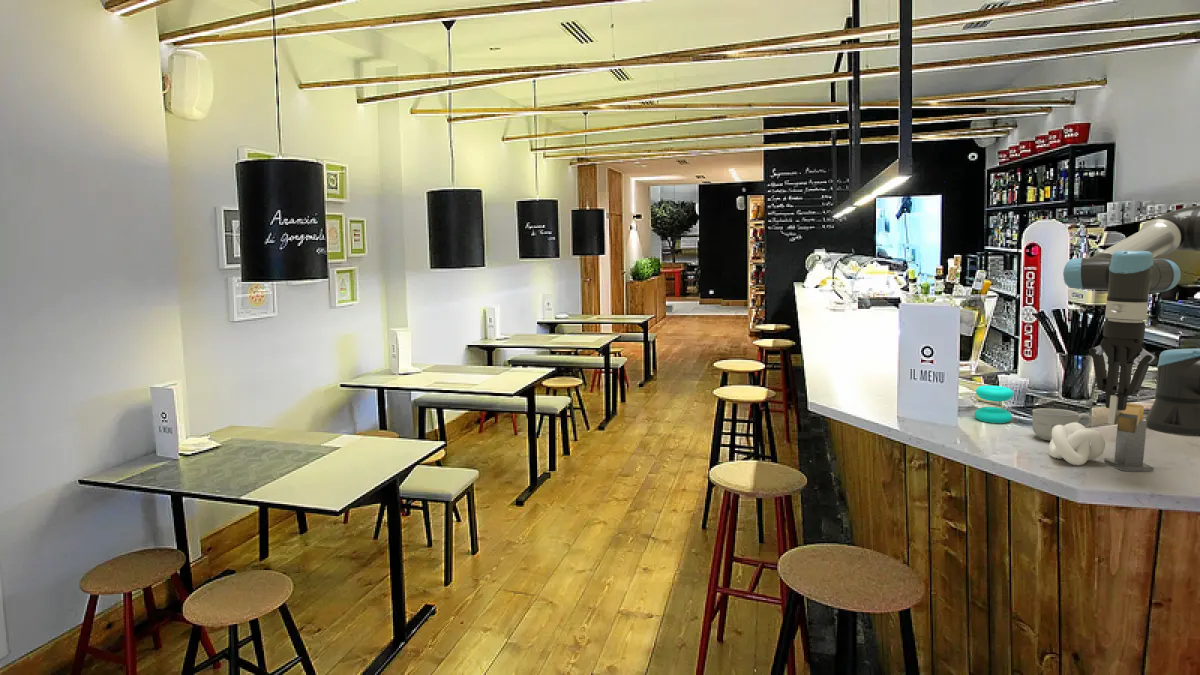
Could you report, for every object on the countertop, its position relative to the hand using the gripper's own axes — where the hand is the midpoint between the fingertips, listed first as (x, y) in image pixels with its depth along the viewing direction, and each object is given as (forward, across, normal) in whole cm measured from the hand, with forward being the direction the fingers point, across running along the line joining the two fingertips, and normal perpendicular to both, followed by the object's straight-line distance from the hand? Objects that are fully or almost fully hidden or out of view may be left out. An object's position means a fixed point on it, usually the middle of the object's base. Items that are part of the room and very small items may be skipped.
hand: (1114, 423), depth 166 cm
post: (+12, -1, +12) cm, 17 cm away
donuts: (+13, -46, +28) cm, 55 cm away
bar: (+1, +1, +5) cm, 5 cm away
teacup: (+13, -23, +22) cm, 35 cm away
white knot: (+13, -11, +5) cm, 17 cm away
